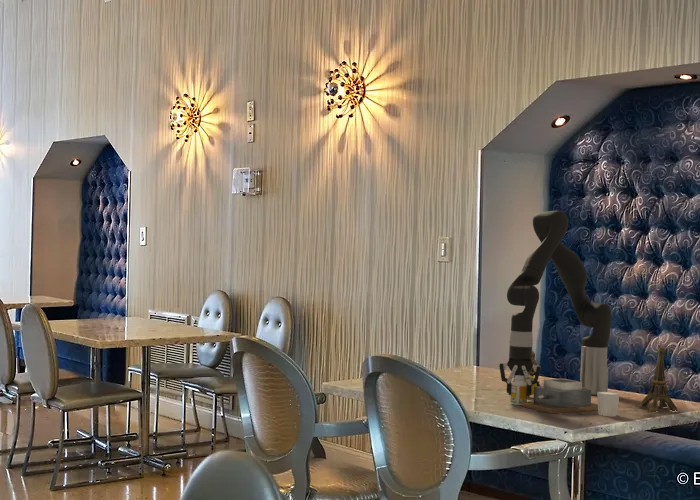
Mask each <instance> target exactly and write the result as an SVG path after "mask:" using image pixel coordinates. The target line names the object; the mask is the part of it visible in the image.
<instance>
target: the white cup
mask: <svg viewBox="0 0 700 500" xmlns="http://www.w3.org/2000/svg"><path fill="white" fill-rule="evenodd" d="M620 394H621V393H618V392H614V391H613V392H612V391H608V392H597V395H596V396H597V404H598V410H597V411H598V413H597V414H598V416H602V415H603V417H617V416H618V415H617V414H618V407H619V400H620ZM616 415H617V416H616Z"/></svg>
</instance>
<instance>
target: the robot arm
mask: <svg viewBox="0 0 700 500" xmlns="http://www.w3.org/2000/svg"><path fill="white" fill-rule="evenodd" d="M532 227H533V230H534V233H535V236H537V238H538V240H539V241H540V244H539V245H538V246H536V248H535V249H534V250H532V251H531V253H530V254H528V257H527V258H526V259H525V262H524V265H522V266H523V267H522V269H521V272H520V273H519V274H518V275H517V276H516V278H515V279H514V280H513V282H512V283H511V284H510V285H509V287H508V288H507V293H506V299H507V300H506V301H507V302H508V303H509V304H510V305H512V306H517V307H518V306H519V307H520V306H521V307H524V308H523V311H522V312H517V313H516V312H515V313H513V314H512V315H511V321H510V322H511V323H510V334H509V340H508V341H509V343H508V344H509V350H508V361H507V362H500V363H499V372H500V373H499V374H500V379H501V381H502V382H503V383H505V384H506V393H507V394H508V396H511V383H512V381H513V379H514V375H522V376H524V375H525V378H526V380H527V383H528V385H527V396H529V395H531V393H532V385H533V384H536V383H537V381H539V377H540V372H541V369H542V367H541V366H542V365H538V364H537V365H533V363H532V350H533V344H534V343H533V341H534V339H533V327H534V326H533V321H534V316H535V314H536V310H537V306H538V303H539V301H540V292H539V289H538V288H537V285H538V284H539V283H540V282H541V280H542V278H543V276H544V272H545V269H546V267H547V266H548V263H549V261H550V260H551V261H552V263H553V265H554V267H555V269H556V271H557V274H558V275H559V276H558V277H560V280H561V281H562V283H563V285H564V287H565V289H566V292H567V293H568V295H569V298H570V300H571V302H572V306H573V309H574V312H575V314H576V317H577V319H578V321H579V323H580V325H582V326H583V327H587V328H593V329H592V333H591V334H589V335H587V336H584V337H582V338H581V348H580V350H581V352H580V353H581V354H580V375H579V382H582V388H583V387H585V388H587V389H588V390H591V396H592V395H594V396H597V392H609V391H608V388H609V387H608V386H609V367H608V366H607V364H608V345H609V341H610V339H611V338H610V336H611V325H612V309H611V308H610V306H609V304H607V303H603V302H594V301H593V302H592V301H591V300H590V299H589V298H588V296H587V293H586V286H587V281H588V272H587V270H586V268H585V265H584V264H583V262H582V261H583V260H581V258H580V256H578V255H577V254H576V253H575V252H574V251H573V250H571V249H570V248H568V247H567V246H566V245H565V244H563V243H562V240H563V238H564V237H565V235H566V233H567V231H568V229H569V218H568V216H567V214H566V213H565V211H563V210H556V209H555V210H549V211H548V210H547V211H540V212H537V213H535V214H534V215H533V217H532ZM507 367H508V368H509V370H510V373H509V376H508V378H507V377H506V372H505V370H506V369H507ZM532 367H533V368H534V371H535V372H536V373H535V376H533V377H534V380H531V378H530V375H529V371H530V370H531V368H532ZM531 396H532V395H531Z"/></svg>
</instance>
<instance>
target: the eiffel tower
mask: <svg viewBox="0 0 700 500" xmlns="http://www.w3.org/2000/svg"><path fill="white" fill-rule="evenodd" d="M659 344H660V345H659V346H658V347H656V351H657V358H656V364H655V370H654V376H653V378H651V380H650V382H651V387H650V390H649V391H647V395H646V396H645V397H644V398H643V399H642V400H641V402H639V405H637V406H636V408H637V407H639V408H638V409H645V408H647V410H646V412H648V411H650V412H649V413H651V412H656V411H658V412H659V410H658V407H661V408H662V407H668V408H669V410H672V411H675V410H676V411H679V409H678V408H677V406H676V405H675V403H674V402H673V399H672V398H671V397H670V394H669V392H668V387H667V384H668V380H667V379H666V374H665V373H666V372H665V363H664V352H666V349H665V347H662V342H660V343H659ZM650 402H652V403H651V404H650ZM658 402H659V403H658ZM649 404H650V406H649V408H648V405H649ZM661 408H660V409H661Z"/></svg>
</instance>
